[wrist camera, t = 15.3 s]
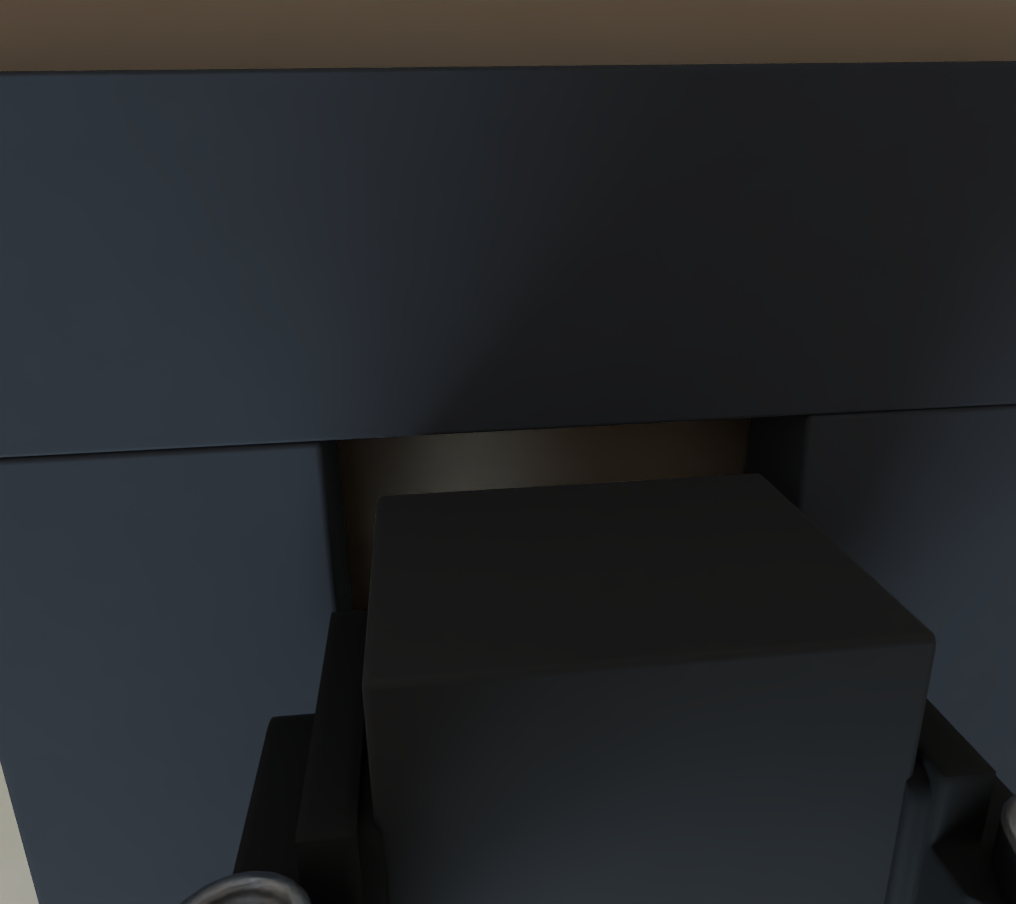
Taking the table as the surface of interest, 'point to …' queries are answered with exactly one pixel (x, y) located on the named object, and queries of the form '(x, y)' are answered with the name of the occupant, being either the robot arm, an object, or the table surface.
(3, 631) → the socket pad
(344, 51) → the table surface
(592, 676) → the small dark rectangular block
